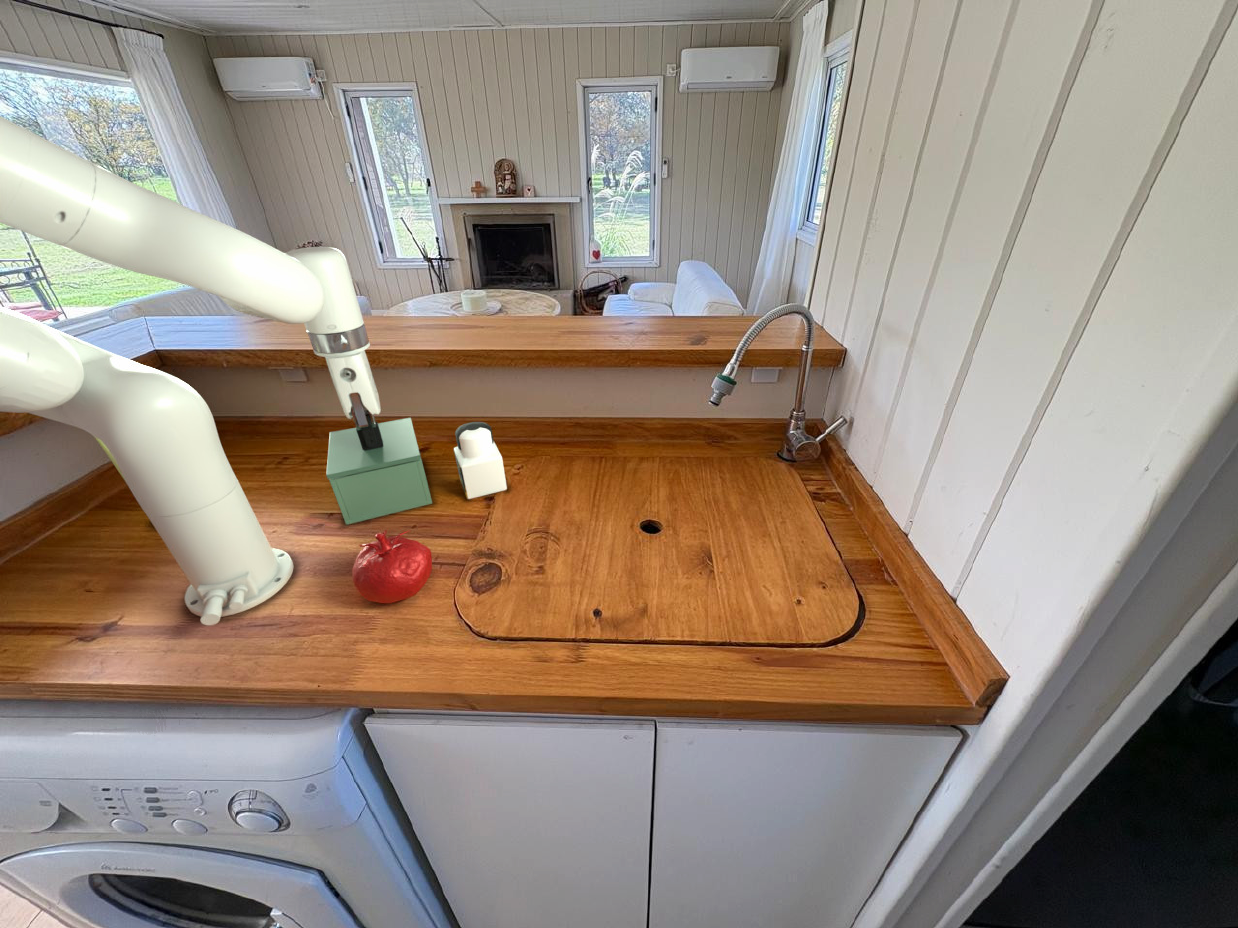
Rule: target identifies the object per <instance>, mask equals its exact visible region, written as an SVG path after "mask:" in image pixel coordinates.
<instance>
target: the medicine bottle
mask: <svg viewBox="0 0 1238 928" xmlns="http://www.w3.org/2000/svg"><path fill="white" fill-rule="evenodd" d="M454 435H455V439H456V444H457V446H455V447H453V453H454V457H455V462H456V466H457V471H458V476H459V480H460V483H461V486H462V489H463V491H464V495H465V498H466V499H467V500H472V499H477V498H480V497H485V496H487V495H493V494H497V493H501V492H504V491H507V489H508V486H507V480H506V474H505V473H506V472H505V467H504V460H503V456H502V454H501V453H500V451H499V448H498V447H497V444H496V443H495V441H494V435H493V430H492V427H491V425H489V424H488V423H486V422H483V421H471V422H467V423H464V424H462V425H459V427H457V429H456V430H455V432H454Z"/></svg>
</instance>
